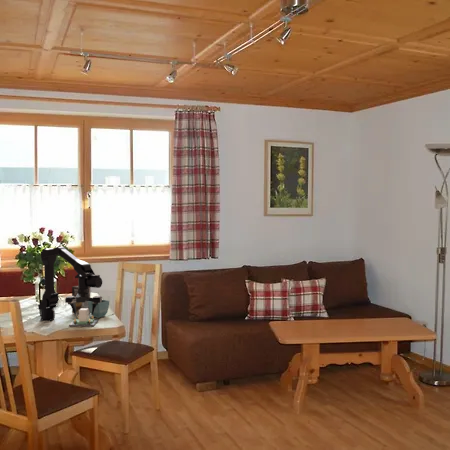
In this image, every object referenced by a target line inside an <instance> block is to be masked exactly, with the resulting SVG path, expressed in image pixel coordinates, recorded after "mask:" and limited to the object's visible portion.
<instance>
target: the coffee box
mask: <svg viewBox="0 0 450 450" xmlns="http://www.w3.org/2000/svg"><path fill="white" fill-rule="evenodd" d="M77 293H78V285H74V286H72V287H71V296H75V298H76V295H77ZM89 294H90V295H91V287H89ZM88 302H89V301H86V302H84V303H82V302H79V303H77V302H76V315H77V316H79V310H80V309H81V308H89V305H88ZM71 313H72V314H73V315H74V312H73V309H72V308H71ZM89 315H91V313H90V310H89Z"/></svg>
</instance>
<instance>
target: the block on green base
mask: <svg viewBox="0 0 450 450" xmlns="http://www.w3.org/2000/svg"><path fill="white" fill-rule="evenodd" d="M89 315H90V314H89V308H81V309H80V310H79V315H78V316H79V319H78V318H75V319H76V323H77V324H87V323H89V319H90V323H93V322H94V319H95V318H94V319H92V317H89ZM72 322H73V323H74V320H73V321H72Z"/></svg>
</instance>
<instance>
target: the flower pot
mask: <svg viewBox="0 0 450 450" xmlns="http://www.w3.org/2000/svg"><path fill="white" fill-rule="evenodd" d="M92 303H94V302H93V301H89V302H88V305H89V310H90V315H91V317H92V316H94V318H102V317H106V315H107V313H108V311H109V306H110V300H106V299H102V302H100V303H99V304H97V306H96V308H95V311H94V314H93V315H92Z"/></svg>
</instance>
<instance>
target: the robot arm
mask: <svg viewBox="0 0 450 450" xmlns="http://www.w3.org/2000/svg"><path fill="white" fill-rule="evenodd" d="M57 256H59V257H60V258H62V259H63V260H65V261H66V262H67V263H68V264H69V265H71V266H72V267H73V270H74V271H75V272H76V273H77V274H76V275H75V276H74V278H75V279H77V283H78V285H77V286H78V293H77V295H76V298H75V296H72V295H68V296H67V297H65V299H64V303H65V304H68V305H69V306H70V308H71V310H72V309H73V312H74V314H73V315H74V316H76V315H77V314H76V302H77V303H79V302H82V303H84V302H86V301H93V302H94V303H92V315H93V314H94V311H95V308H96V306H97V304H99V303H100V302H102V300H103V296H101V295H95V296H93V297H91V293H90V294H89V287H90V288H96V289H99V288H101V287H102V286H103V280H102V278H101V277H100V276H101V275H100V274H95V272H94V270H93V269H92V265H91V264H90V263H89V262H88V261H87V262H86V261H85V260H81V259H79V258H78V257H77V256H75V255H74V254H72V253H71V252H70V251H68V249H66V248H65V247H64V246H57V247H55V248H53V247H52V248H43V249H42V250H41V251H40V259H41V260H40V261H41V262H42V263H43V265H44V292H43V294H42V297H41V302H40V303H39V304H38V305H37V306H38V307H37V308H38V310H40V319H39V320H40V321H52V320H54V319H55V318H56V317H55V316H56V315H55V314H56V312H55V308H56V307H57V304H58V303H59V300H60V298H59V292H56V290H55V270H54V269H55V267H54V265H55V262H56V261H57ZM92 315H91V316H92Z"/></svg>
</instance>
